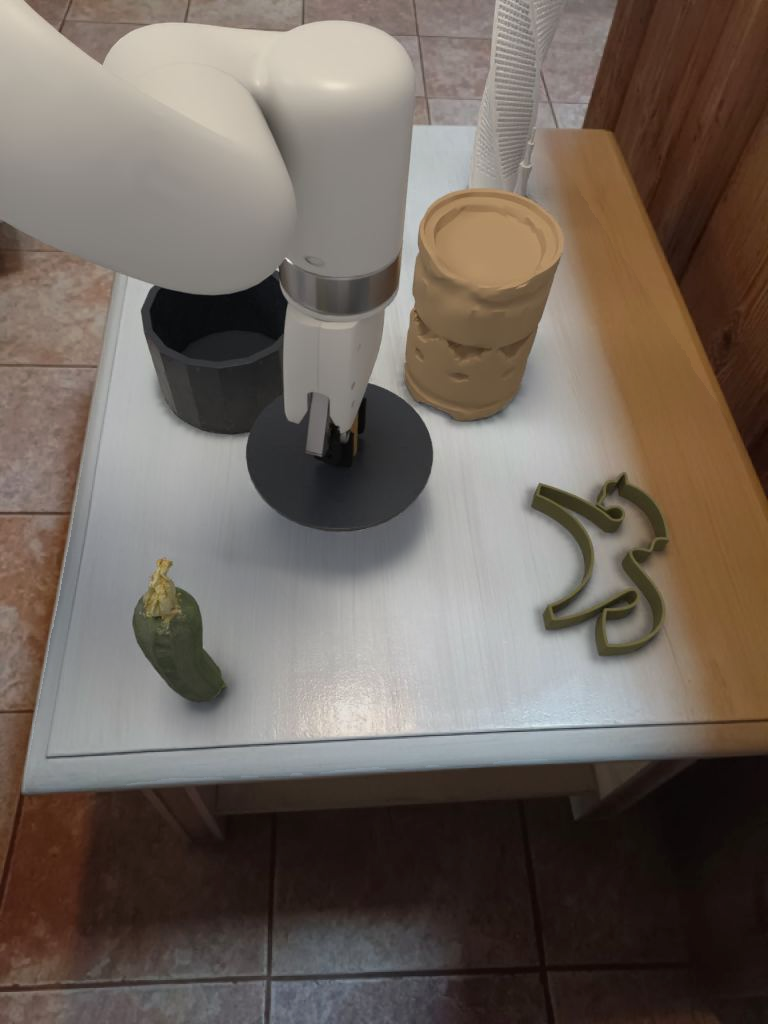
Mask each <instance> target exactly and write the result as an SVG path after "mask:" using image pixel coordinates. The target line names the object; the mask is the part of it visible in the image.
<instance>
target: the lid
mask: <svg viewBox="0 0 768 1024" xmlns="http://www.w3.org/2000/svg"><path fill="white" fill-rule="evenodd" d="M363 398H367V402H366V424H365V429H364V432H363V433H361V434H358V412H357V414H356V417H355V420H354V422H353V424H352V426H351V428H350V431H351V432H353V433H354V461H353V464H352V466H351V467H345V466H340V465H336V466H335V465H330V464H326V463H324V462H323V461H320V460H317V459H315V458H314V455H310V454H306V444H307V435H308V427H309V418H310V410H311V407H309V406H308V407H309V408H308V411H307V412H306V414H305V415H304V417H303V419H302V420H301V422H300V423H299V424H297V423H294V422H290V421H289V420H288V419H287V417H286V414H285V405H284V394H282V395H281V396H279V397H278V398H276V399H275V400H274V401H272V402H271V403H270V404H269V405H268V406H267V407H266V408H265V409H264V410H263V411H262V412H261V414H260V415H259V416H258V418H257V419H256V421H255V423H254V424H253V426H252V428H251V431H250V432H249V434H248V435H247V436H248V437H247V441H246V445H245V462H246V468H247V472H248V475H249V479H250V481H251V483H252V485H253V487H254V489H255V490H256V492H257V493H258V495H259V496H260V497H261V499H262V500H263V501H264V502H265V503H266V505H268V507H270V509H272V510H273V511H275V513H277V514H279V515H281V516H282V517H283V518H285V519H287V520H288V521H291V522H293V523H295V524H297V525H300V526H303V527H306V528H308V529H311V530H316V531H322V532H331V533H332V532H333V533H350V532H357V531H365V530H367V529H371V528H374V527H378V526H380V525H383V524H385V523H388V522H390V521H391V520H393V519H395V518H397V517H398V516H400V515H401V514H403V513H404V512H405V511H407V510H408V509H409V508H410V507H411V506H412V505H413V504H414V503H415V502H416V501H417V499H418V498H419V497H420V496H421V495H422V493H423V492H424V490H425V488H426V486H427V485H428V482H429V479H430V477H431V473H432V469H433V463H434V447H433V440H432V438H431V434H430V431H429V429H428V427H427V425H426V423H425V421H424V420H423V419H422V417H421V416H420V414H419V413H418V412H417V411H416V409H415V407H413V406H412V405H411V404H410V403H409V402H407V401H406V400H405V399H404V398H402V397H401V396H399V395H398V394H397V393H395V392H392V391H391V390H389V389H387V388H384V387H382V386H379V385H377V384H374V383H371V382H368V385H367V388H366V392H365V395H364V397H363ZM330 423H333V424H334V422H333V420H332V419H330Z"/></svg>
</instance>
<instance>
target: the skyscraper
mask: <svg viewBox="0 0 768 1024" xmlns="http://www.w3.org/2000/svg"><path fill="white" fill-rule="evenodd" d="M566 2H567V0H495V5H494V14H493V23H492V34H491V47H490V64H489V65H490V66H489V71H488V75H487V78H486V82H485V85H484V89H483V93H482V98H481V103H480V106H479V112H478V116H477V122H476V127H475V132H474V133H475V134H474V140H473V147H472V154H471V163H470V171H469V178H468V179H469V180H468V189H473V188H489V189H498V190H503V191H508V192H511V193H515V194H518V195H520V196H523V197H526V192H527V185H528V180H529V177H530V174H531V171H532V169H533V166H534V164H532V162H531V159H532V154H533V150H534V147H535V144H536V142H534V140H535V135H536V132H537V127H536V126H537V120H538V113H539V105H540V104H539V103H540V91H541V70H542V68H543V67H542V66H543V65H544V62H545V61H546V57H547V55H548V52H549V50H550V48H551V45H552V42H553V41H554V37H555V34H556V31H557V29H558V26H559V24H560V20H561V18H562V15H563V12H564V9H565V6H566V4H567V3H566Z"/></svg>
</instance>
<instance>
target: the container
mask: <svg viewBox="0 0 768 1024" xmlns="http://www.w3.org/2000/svg"><path fill="white" fill-rule="evenodd" d="M564 245H565V238H564V233H563V230H562V228H561V226H560V224H559V223H558V221H557V219H556V218H555V217H554V216H553V215H551V213H549V212H548V211H547V210H546V209H544V208H543V207H542V206H541V205H540V204H538V203H537V202H536V201H534V200H532V199H530V198H528V197H526V196H525V197H523V196H520V195H518V194H515V193H511V192H508V191H503V190H498V189H489V188H473V189H469V188H465V189H460V190H455V191H452V192H450V193H447V194H445V195H443V196H440V197H439V198H438V199H436V200H435V201H433V203H431V205H430V206H429V207H428V208H427V210H426V211H425V213H424V215H423V217H422V219H421V221H420V223H419V225H418V233H417V248H418V252H417V255H416V258H415V262H414V269H413V278H412V288H411V292H412V293H411V295H412V296H413V298H414V299H413V300H414V304H413V307H412V309H411V310H410V313H409V323H408V329H407V333H406V334H407V335H406V342H405V351H404V352H405V353H404V357H405V358H404V359H405V363H404V379H405V384H406V386H407V389H408V392H409V394H410V395H411V397H412V398H413V399H414V400H415V401H416V402H417V403H423V404H426V405H429V406H432V407H433V408H436V409H437V410H441V411H444V412H445V413H447V414H449V415H450V416H451V417H452V419H454V420H456V421H459V422H466V421H468V422H469V421H476V420H479V419H484V418H486V419H488V418H491V416H493V415H495V414H497V413H498V412H500V411H501V410H503V409H504V408H505V407H507V406H508V404H509V403H510V402H511V401H512V400H513V399H514V398H515V397H516V396H517V394H518V393H519V390H520V388H521V385H522V381H523V379H524V378H523V377H524V375H525V372H526V368H527V365H528V360H529V358H530V357H529V356H530V354H531V352H532V350H533V346H534V343H535V339H536V336H537V335H538V334H537V333H538V329H539V324H540V322H541V321H542V318H543V315H544V312H545V309H546V306H547V302H548V299H549V296H550V292H551V291H552V290H551V289H552V286H553V284H554V280H555V275H556V272H557V270H558V266H559V264H560V261H561V257H562V254H563V252H564Z"/></svg>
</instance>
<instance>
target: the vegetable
mask: <svg viewBox="0 0 768 1024" xmlns="http://www.w3.org/2000/svg"><path fill="white" fill-rule="evenodd" d="M173 562H174V561H173V560H170V559H167V558H166V556H164V557H163V558H160V559H157V560H156V561H155V563H156V566H157V569H156V571H154V572H153V573H152V574H151V575H149V578H150V580H149V585H148V586H147V590H146V591H145V592H144V594H142V596H141V597H140V598H139V599H138V602H137V603H136V605H135V607H134V610H133V613H132V619H131V621H132V629H133V630H132V631H133V633H134V638H135V640H136V643H137V645H138V647H139V649H140V650H141V652H142V654H143V655H144V657H145V658H146V659H147V661H148V662H149V663H150V665H151V666H152V668H153V669H154V670H155V671H156V672H157V674H158V675H159V677H160V678H161V679H162V680H163V681H164V682H165V683H166V685H167V686H168V687H169V688H170V689H171V690H172V691H173V692H174V693H176V694H177V695H179V697H181V698H183V699H185V700H187V701H190V702H192V703H196V704H199V703H210V702H212V701H214V699H215V698H216V697H217V696H218V695H219V694H221V692H222V689H224V688H226V687H227V683H226V681H225V679H224V678H223V673H222V670H221V668H220V667H219V666H218V664H216V662H215V661H214V659H213V658H212V657H211V656H210V654H209V653H208V652H207V650H205V648H204V637H203V636H204V634H203V633H204V632H203V631H204V628H203V627H204V626H203V616H202V611H201V609H200V605H199V603H198V601H197V600H196V599H195V597H194V596H193V595H192V594H190V592H188V591H187V590H184V589H182V588H180V586H179V587H178V586H176V585H175V582H174V581H173V579H172V578H169V577H168V575H167V574H168V572H169V569H170V568H172V567H173Z"/></svg>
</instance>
